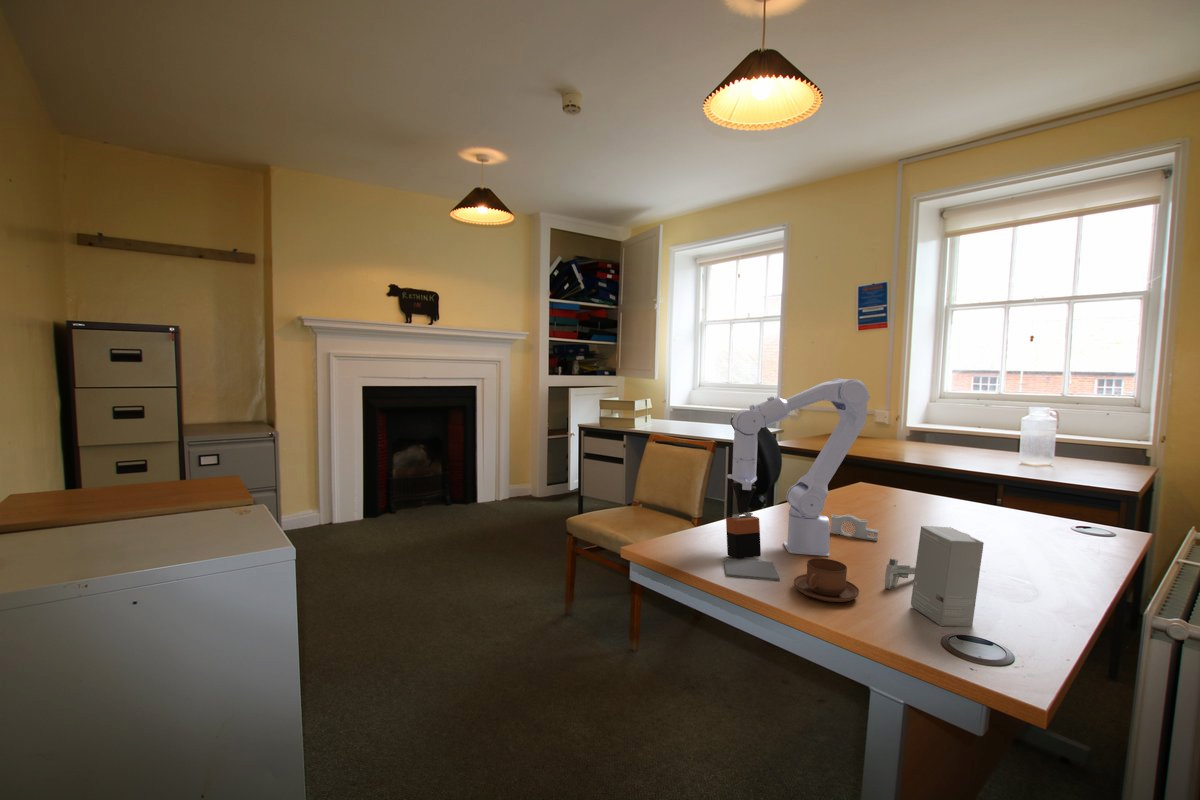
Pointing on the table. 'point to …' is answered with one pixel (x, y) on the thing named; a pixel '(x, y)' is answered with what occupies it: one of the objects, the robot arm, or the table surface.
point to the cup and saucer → (826, 581)
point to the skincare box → (947, 575)
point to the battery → (743, 536)
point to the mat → (750, 569)
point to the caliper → (896, 573)
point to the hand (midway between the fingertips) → (742, 512)
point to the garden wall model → (859, 525)
